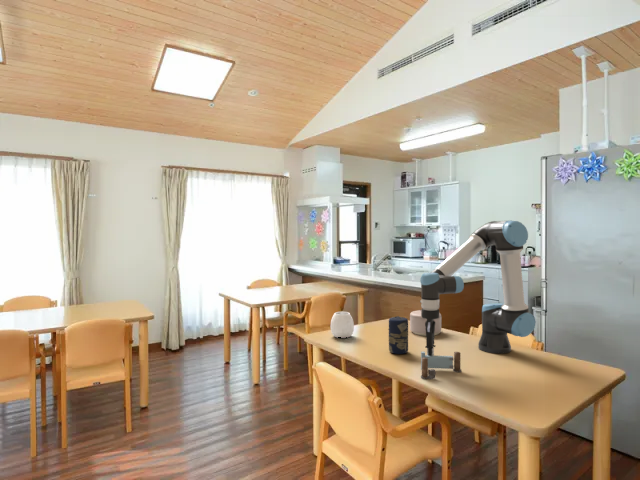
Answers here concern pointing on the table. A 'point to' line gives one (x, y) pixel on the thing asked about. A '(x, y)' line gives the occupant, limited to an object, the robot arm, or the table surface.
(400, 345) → the canister
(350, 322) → the cup
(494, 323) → the robot arm
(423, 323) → the container
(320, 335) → the table surface
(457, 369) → the gateposts
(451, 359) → the gate
